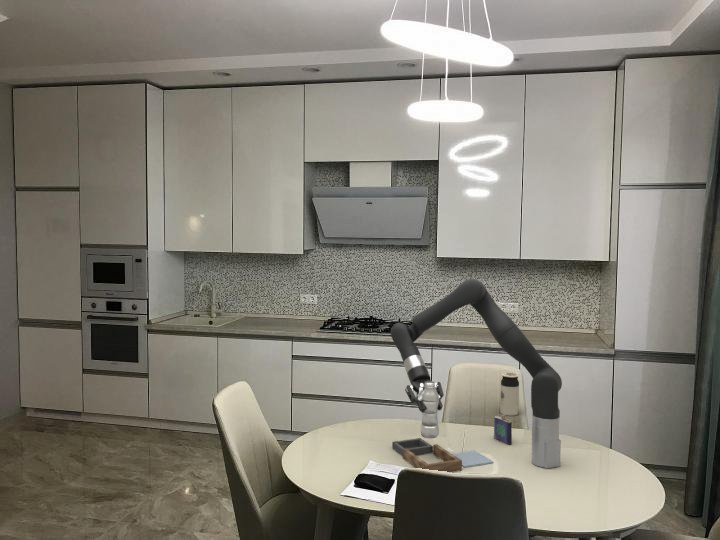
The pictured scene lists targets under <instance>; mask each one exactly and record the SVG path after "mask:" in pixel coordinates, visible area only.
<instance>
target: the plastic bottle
mask: <svg viewBox="0 0 720 540" xmlns="http://www.w3.org/2000/svg"><path fill="white" fill-rule="evenodd" d="M435 383H436V382H435V381H433V380H431V381H426V382H425V386H424V387H425V390H424V391H423V392H422V394H421V401H422V402H423V404H424V407H425V412H423V413H422V412H421V415H422V416H421V424H420V435H421V437H422V438H423V439H424V438H425V439H435V438H438V436H439V433H440V428H439V427H440V426H439V421H438V420H439V419H438V403H439V395H438V393H437V391H436V390H435Z"/></svg>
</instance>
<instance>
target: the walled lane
mask: <svg viewBox="0 0 720 540" xmlns="http://www.w3.org/2000/svg"><path fill="white" fill-rule="evenodd" d="M432 446H433V453H432V455H433V456H436V458H438V459H440V460H441V461H439V462H433V463H432V462H431V463H427V462H426V461H424V460H423V459H422V458H420V457H419V455H415V454H413V453H412V452H411V451H409V450H408V449H403V456H402V459H403V460H404V461H405V462H407V463H408V464H409V465H411V466H412V467H413V468H414V469H416V468H422V469H429V470H438V471H447V472H449V473H454V471H455V472H460V471H462V469H463V467H462V460H461V459H459V458H457V457H456V456H454V455H453V454H454V453H451V452H450V451H448V450H447V449H445V448H443V447H441V445H439V444H436V443H435V444H433V445H432Z"/></svg>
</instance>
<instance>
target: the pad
mask: <svg viewBox="0 0 720 540" xmlns="http://www.w3.org/2000/svg"><path fill="white" fill-rule="evenodd" d="M452 454H453V455H454V456H456V457H457V458H459V459H461V460H462V468H464V469H466V468H467V469H468V468H472V467H479V466H485V465H490V464H494V461H493V460H491V459H490V458H488V457H487V456H485V455H484V454H482V453H480V452H478V451H476V450H469V451H463V452H456V453H452Z"/></svg>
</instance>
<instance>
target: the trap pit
mask: <svg viewBox="0 0 720 540" xmlns="http://www.w3.org/2000/svg"><path fill="white" fill-rule="evenodd" d="M391 445H392V446H391V448H392V449H393V450H394V451H395V452H396V453H398V454H399V455H401V456H402V457H403V449H408V450H409V451H411V452H412V453H413V454H415V455H416V456H420V455H428V454H433V445H432V444H430V443H429V442H428V441H426V440H424V438H421V437H419V438H418V437H417V438H410V439H405V440H404V439H403V440H396V441H392V444H391Z"/></svg>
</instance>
